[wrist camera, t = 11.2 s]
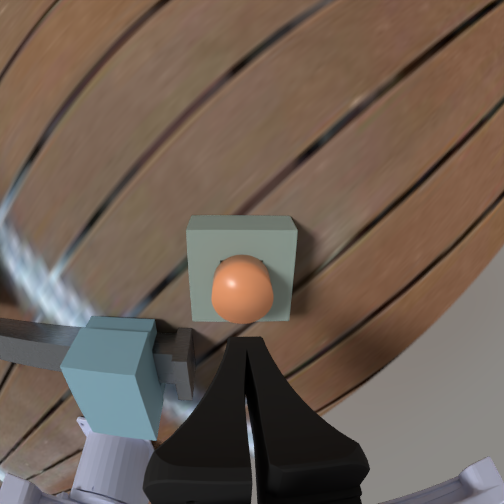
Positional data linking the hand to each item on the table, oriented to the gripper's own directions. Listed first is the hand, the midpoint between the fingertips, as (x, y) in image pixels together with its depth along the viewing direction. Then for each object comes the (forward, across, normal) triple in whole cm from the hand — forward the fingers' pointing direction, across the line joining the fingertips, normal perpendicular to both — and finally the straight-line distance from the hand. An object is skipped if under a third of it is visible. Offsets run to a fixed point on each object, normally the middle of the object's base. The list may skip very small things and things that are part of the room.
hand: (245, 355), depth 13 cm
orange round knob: (+9, 0, 0) cm, 9 cm away
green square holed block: (+9, 0, 0) cm, 9 cm away
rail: (+9, +14, +7) cm, 19 cm away
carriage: (+9, +8, +7) cm, 14 cm away
